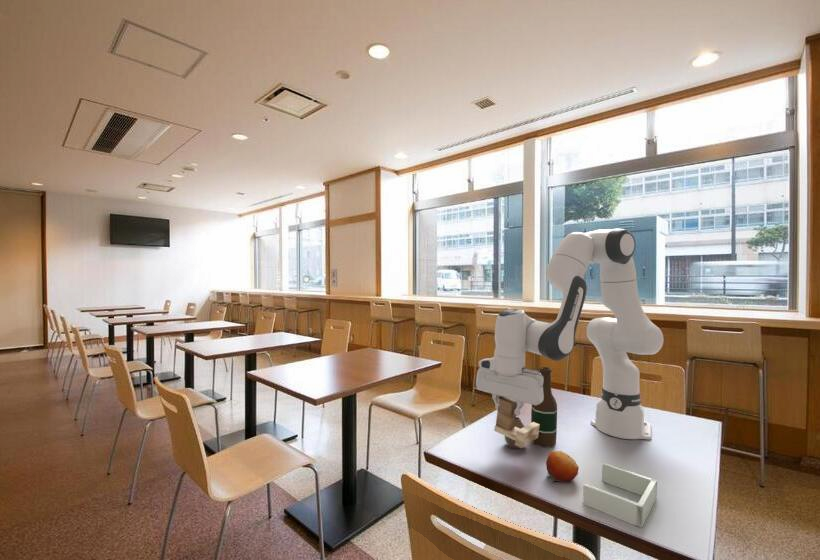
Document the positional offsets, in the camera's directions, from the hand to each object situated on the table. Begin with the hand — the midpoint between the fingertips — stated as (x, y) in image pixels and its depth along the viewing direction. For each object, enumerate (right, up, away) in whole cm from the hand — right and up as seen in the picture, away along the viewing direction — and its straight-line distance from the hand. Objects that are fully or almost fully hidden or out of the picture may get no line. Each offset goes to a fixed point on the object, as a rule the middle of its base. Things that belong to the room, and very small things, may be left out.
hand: (507, 412), depth 111 cm
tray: (+22, -14, -20) cm, 33 cm away
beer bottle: (+14, -14, +11) cm, 23 cm away
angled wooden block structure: (+1, -6, -2) cm, 7 cm away
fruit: (+12, -14, -11) cm, 21 cm away
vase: (+5, -14, +8) cm, 17 cm away
